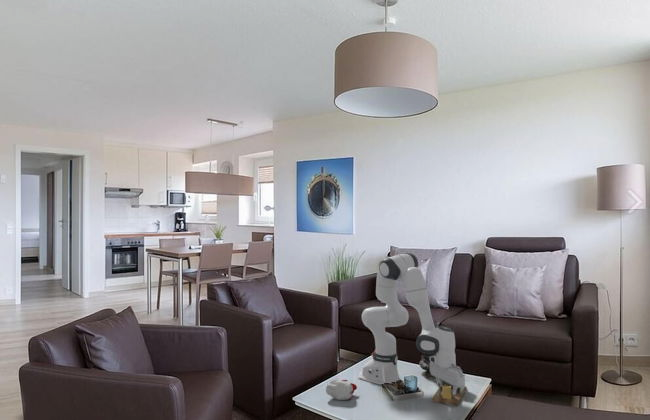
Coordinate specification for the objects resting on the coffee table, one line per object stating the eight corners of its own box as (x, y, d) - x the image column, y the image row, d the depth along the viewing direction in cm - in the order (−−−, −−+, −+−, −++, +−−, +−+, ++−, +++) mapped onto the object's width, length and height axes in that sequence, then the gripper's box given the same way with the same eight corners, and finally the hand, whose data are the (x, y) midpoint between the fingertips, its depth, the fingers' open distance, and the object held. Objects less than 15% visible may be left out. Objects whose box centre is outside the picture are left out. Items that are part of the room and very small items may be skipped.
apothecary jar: (428, 380, 225) (427, 346, 225) (415, 373, 236) (414, 340, 236) (446, 376, 229) (446, 343, 229) (433, 369, 240) (432, 338, 241)
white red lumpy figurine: (324, 398, 203) (345, 393, 214) (341, 405, 195) (362, 399, 206) (325, 379, 204) (346, 374, 215) (342, 385, 196) (363, 380, 207)
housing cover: (438, 389, 209) (438, 376, 209) (442, 383, 217) (442, 370, 217) (461, 393, 204) (461, 380, 204) (464, 386, 212) (464, 374, 212)
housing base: (431, 401, 199) (431, 392, 199) (442, 384, 218) (442, 376, 219) (457, 406, 193) (457, 397, 193) (466, 388, 213) (466, 380, 213)
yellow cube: (442, 398, 199) (442, 388, 200) (442, 394, 203) (442, 385, 203) (451, 399, 198) (451, 389, 198) (451, 395, 202) (451, 386, 202)
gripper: (467, 366, 193) (467, 397, 193) (437, 354, 211) (437, 381, 211) (456, 369, 190) (457, 399, 190) (427, 356, 209) (427, 384, 208)
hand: (446, 390), depth 201 cm, fingers open, 8 cm apart
